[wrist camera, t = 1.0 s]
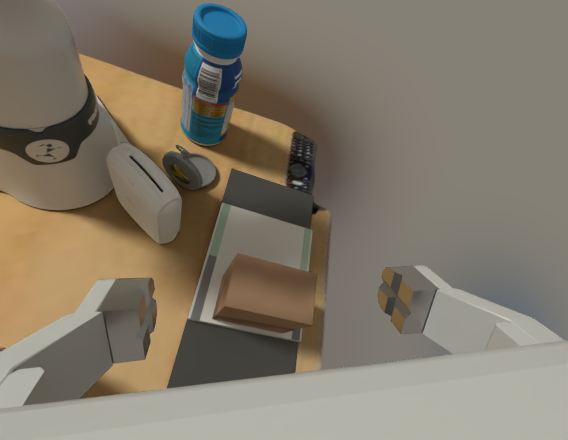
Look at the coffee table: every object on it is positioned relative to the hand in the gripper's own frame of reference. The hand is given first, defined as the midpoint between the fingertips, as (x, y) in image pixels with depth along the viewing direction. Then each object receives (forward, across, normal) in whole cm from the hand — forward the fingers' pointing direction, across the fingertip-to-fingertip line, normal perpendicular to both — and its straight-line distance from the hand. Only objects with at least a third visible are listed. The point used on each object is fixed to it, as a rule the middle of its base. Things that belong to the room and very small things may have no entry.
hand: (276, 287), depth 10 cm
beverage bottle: (+49, +5, 0) cm, 49 cm away
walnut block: (+25, -2, +21) cm, 32 cm away
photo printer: (+34, +13, +11) cm, 38 cm away
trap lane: (+30, -3, +18) cm, 35 cm away
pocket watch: (+41, +7, +7) cm, 42 cm away
